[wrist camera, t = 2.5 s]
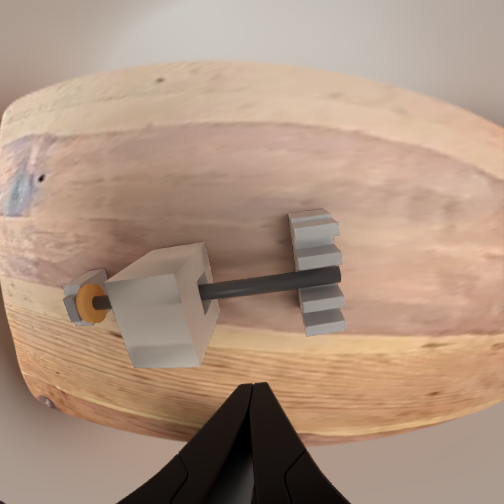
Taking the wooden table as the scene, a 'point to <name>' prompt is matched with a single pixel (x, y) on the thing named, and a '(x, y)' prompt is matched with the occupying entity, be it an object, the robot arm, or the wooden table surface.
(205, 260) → the sleeve
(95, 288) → the cord rig
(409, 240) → the wooden table surface
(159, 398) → the wooden table surface
